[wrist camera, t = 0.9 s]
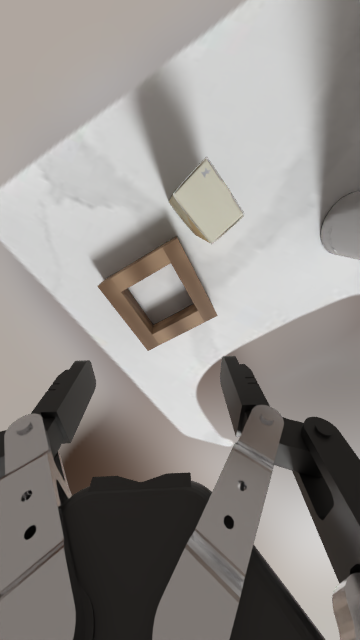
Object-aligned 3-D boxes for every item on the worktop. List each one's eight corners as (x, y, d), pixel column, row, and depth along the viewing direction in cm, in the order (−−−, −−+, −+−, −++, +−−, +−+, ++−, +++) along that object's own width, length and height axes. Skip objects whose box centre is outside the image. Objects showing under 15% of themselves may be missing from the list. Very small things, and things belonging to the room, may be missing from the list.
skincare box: (167, 202, 29) (168, 191, 18) (190, 177, 28) (205, 150, 17) (196, 237, 31) (211, 246, 20) (217, 216, 30) (246, 214, 19)
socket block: (176, 236, 31) (177, 238, 28) (213, 307, 37) (217, 315, 34) (103, 280, 33) (97, 286, 30) (149, 340, 39) (147, 350, 36)
